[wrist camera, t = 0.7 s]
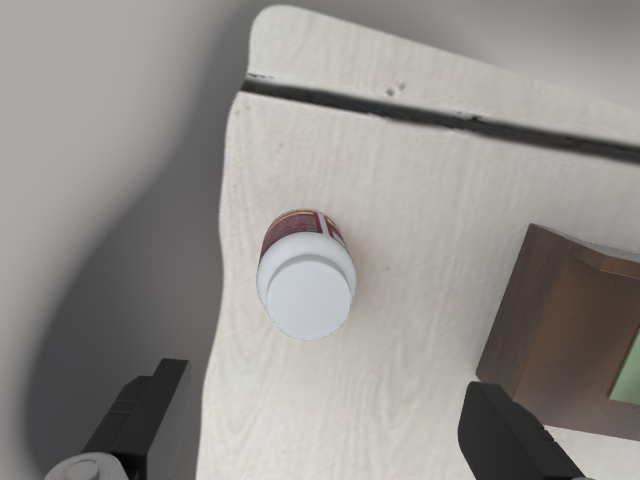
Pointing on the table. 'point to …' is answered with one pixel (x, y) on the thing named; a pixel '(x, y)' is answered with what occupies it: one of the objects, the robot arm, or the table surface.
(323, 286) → the pill bottle
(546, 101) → the table surface
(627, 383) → the shelf
